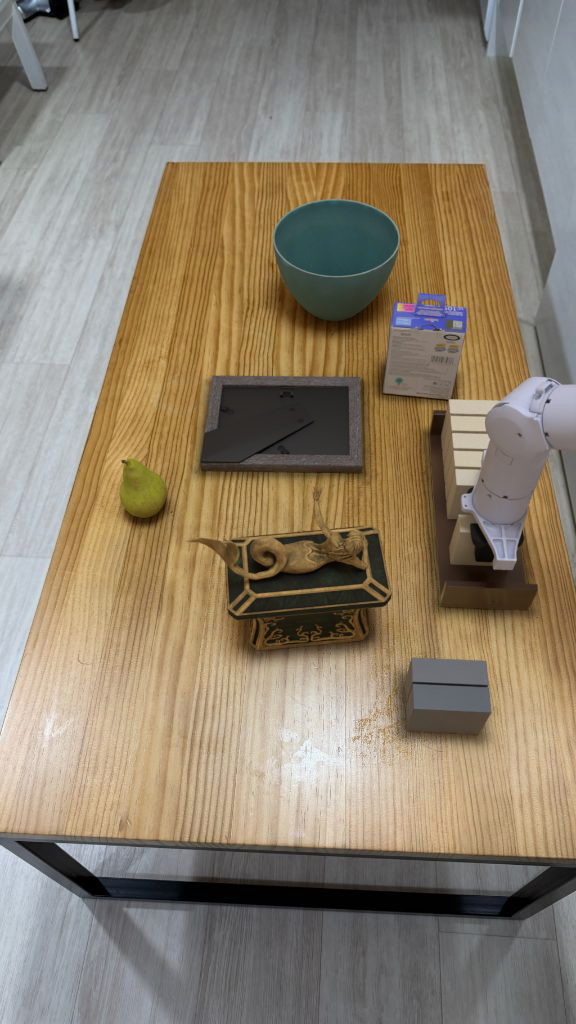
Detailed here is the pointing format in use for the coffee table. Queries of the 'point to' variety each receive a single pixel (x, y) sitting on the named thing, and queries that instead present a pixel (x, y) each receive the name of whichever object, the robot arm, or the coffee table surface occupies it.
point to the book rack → (469, 581)
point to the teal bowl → (335, 255)
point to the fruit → (141, 489)
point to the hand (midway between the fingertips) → (482, 548)
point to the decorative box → (304, 583)
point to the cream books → (463, 448)
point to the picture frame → (283, 424)
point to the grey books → (447, 696)
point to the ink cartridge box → (424, 348)
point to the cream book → (464, 543)
